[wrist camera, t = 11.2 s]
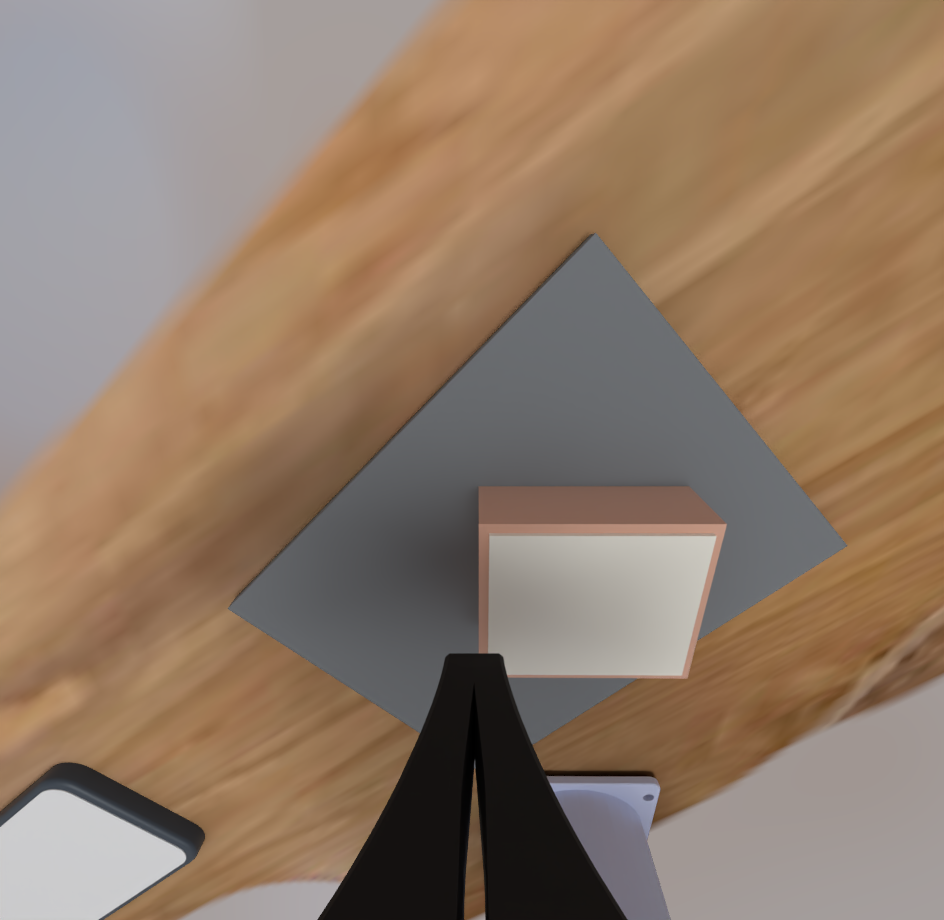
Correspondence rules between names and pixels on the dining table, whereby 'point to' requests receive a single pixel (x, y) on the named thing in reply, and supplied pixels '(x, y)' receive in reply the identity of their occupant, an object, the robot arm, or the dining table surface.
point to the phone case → (86, 846)
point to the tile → (594, 578)
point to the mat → (529, 464)
